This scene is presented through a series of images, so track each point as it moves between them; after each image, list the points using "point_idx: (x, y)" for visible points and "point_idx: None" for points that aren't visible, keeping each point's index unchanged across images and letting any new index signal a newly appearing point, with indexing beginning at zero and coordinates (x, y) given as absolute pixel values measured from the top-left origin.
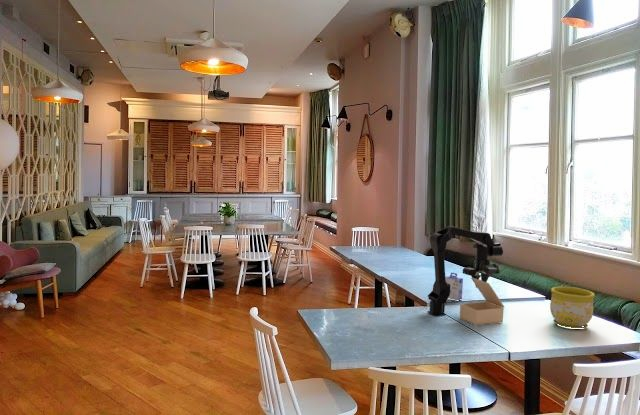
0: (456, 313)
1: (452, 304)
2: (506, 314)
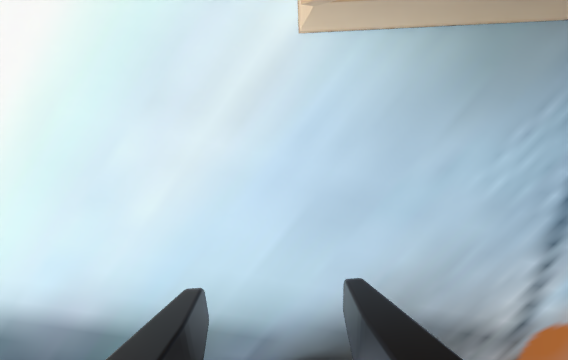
0: (495, 147)
1: None
2: (79, 9)
